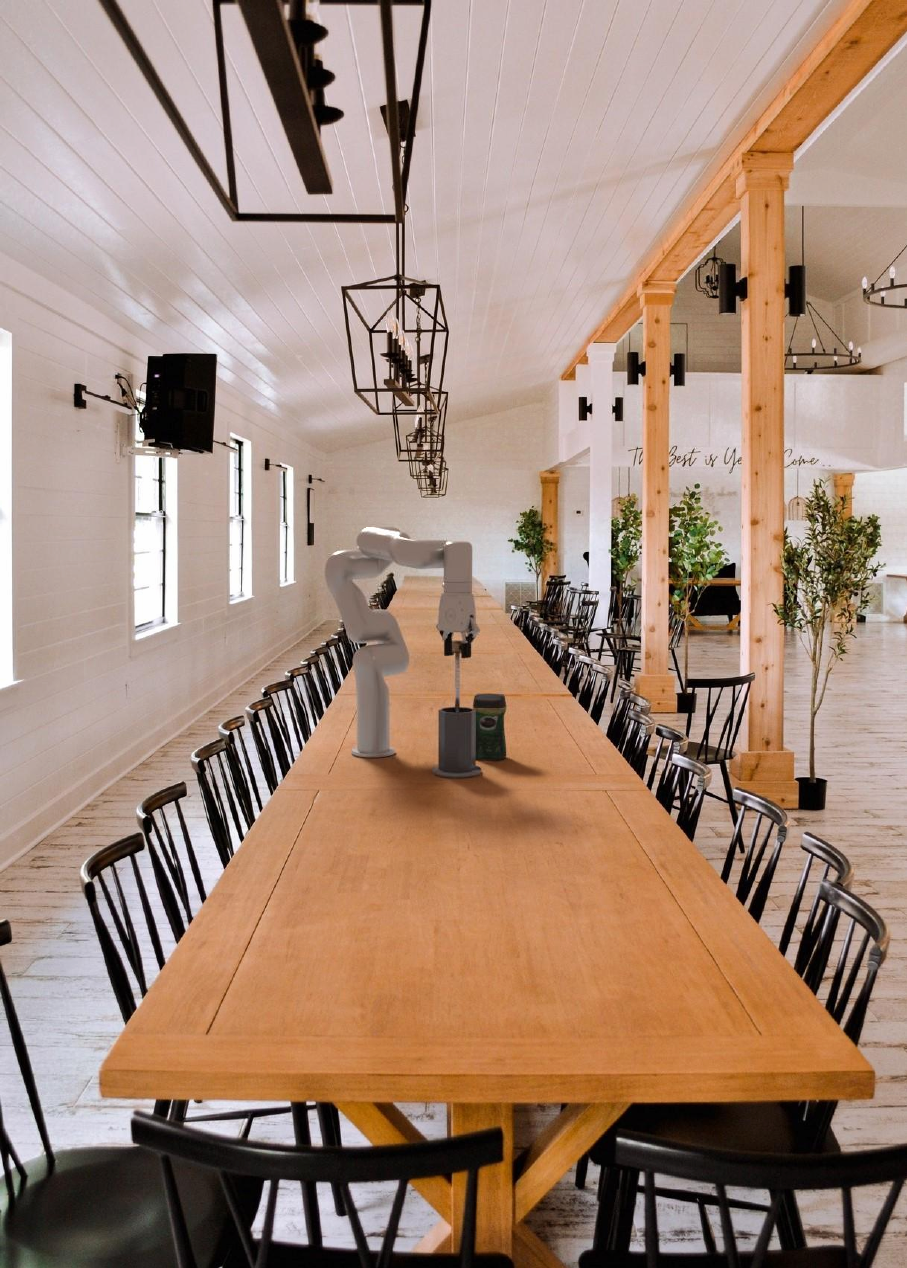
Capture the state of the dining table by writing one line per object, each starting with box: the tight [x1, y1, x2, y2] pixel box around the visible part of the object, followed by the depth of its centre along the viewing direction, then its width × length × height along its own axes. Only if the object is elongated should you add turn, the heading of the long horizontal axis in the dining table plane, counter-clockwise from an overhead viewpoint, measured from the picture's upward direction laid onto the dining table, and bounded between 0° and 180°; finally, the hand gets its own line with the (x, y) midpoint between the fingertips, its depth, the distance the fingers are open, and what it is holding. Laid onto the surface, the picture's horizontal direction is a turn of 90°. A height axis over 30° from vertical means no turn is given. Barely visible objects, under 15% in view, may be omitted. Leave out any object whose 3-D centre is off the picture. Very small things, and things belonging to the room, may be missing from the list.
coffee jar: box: [472, 692, 507, 761], centre depth 295 cm, size 10×8×19 cm
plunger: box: [452, 639, 463, 713], centre depth 276 cm, size 7×7×22 cm
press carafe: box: [432, 706, 482, 779], centre depth 278 cm, size 14×13×17 cm
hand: (457, 656), depth 275 cm, fingers open, 5 cm apart
